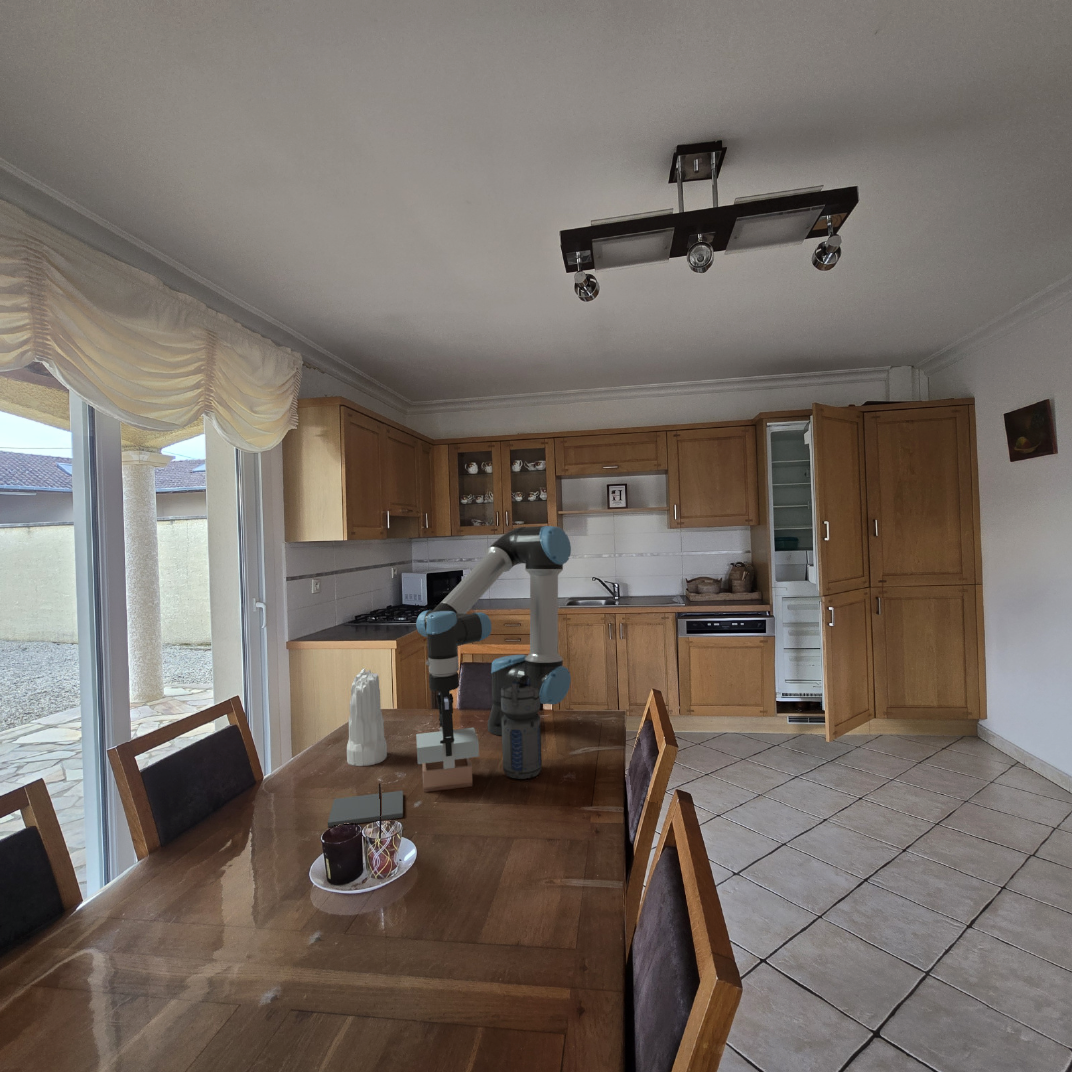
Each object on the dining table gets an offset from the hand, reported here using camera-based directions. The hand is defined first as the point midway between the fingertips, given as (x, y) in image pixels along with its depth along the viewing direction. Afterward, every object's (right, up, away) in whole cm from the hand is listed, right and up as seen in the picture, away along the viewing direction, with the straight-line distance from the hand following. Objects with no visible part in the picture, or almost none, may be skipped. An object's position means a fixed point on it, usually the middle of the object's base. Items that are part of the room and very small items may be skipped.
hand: (447, 759), depth 152 cm
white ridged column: (-25, -7, +18) cm, 32 cm away
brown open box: (0, -6, 0) cm, 6 cm away
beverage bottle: (+19, -5, +5) cm, 21 cm away
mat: (-16, -6, -14) cm, 23 cm away
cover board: (0, +2, 0) cm, 2 cm away
